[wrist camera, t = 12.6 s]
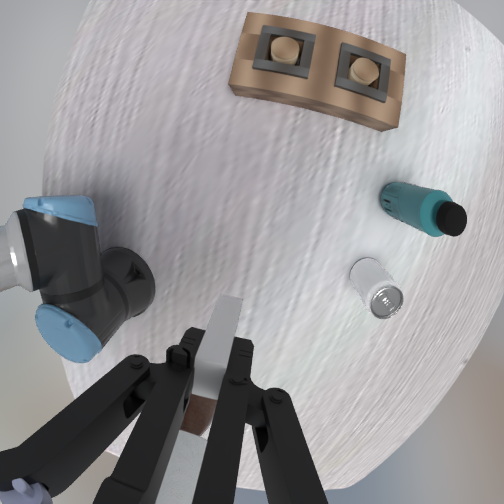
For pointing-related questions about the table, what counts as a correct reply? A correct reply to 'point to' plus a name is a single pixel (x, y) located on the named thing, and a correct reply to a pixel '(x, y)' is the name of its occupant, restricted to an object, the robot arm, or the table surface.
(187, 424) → the lamp
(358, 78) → the peg
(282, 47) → the peg
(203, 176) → the table surface
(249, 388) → the robot arm
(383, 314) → the can
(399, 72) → the walnut block
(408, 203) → the beverage bottle
